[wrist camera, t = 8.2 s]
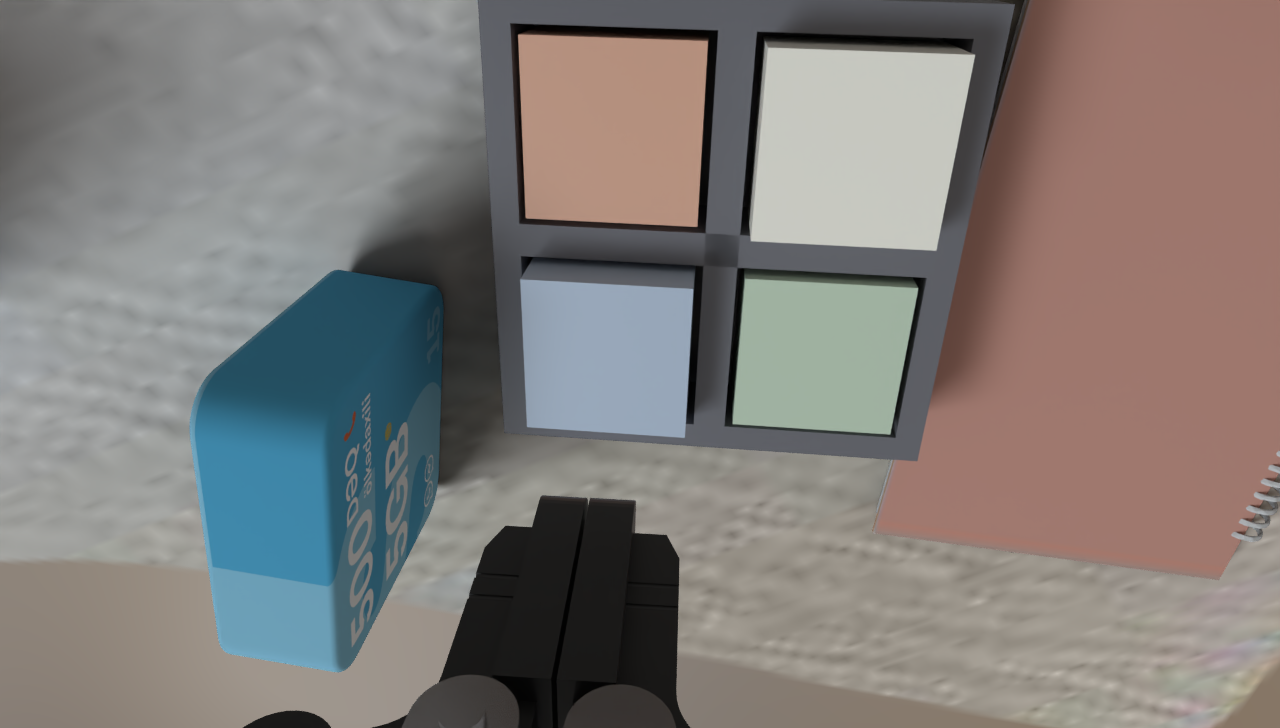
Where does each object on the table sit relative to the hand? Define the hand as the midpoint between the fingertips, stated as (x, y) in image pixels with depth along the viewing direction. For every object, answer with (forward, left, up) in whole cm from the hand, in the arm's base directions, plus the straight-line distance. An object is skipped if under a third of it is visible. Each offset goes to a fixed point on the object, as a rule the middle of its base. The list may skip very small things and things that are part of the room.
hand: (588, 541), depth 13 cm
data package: (-12, -10, -22) cm, 27 cm away
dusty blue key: (-2, -5, -19) cm, 20 cm away
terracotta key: (-2, +3, -21) cm, 21 cm away
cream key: (+6, +3, -19) cm, 20 cm away
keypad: (+2, -1, -22) cm, 22 cm away
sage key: (+6, -5, -21) cm, 22 cm away
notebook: (+20, -3, -23) cm, 30 cm away
